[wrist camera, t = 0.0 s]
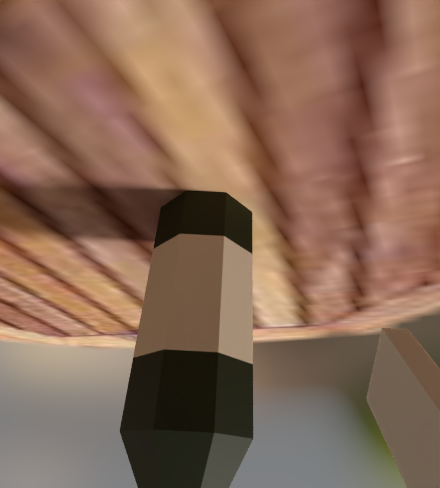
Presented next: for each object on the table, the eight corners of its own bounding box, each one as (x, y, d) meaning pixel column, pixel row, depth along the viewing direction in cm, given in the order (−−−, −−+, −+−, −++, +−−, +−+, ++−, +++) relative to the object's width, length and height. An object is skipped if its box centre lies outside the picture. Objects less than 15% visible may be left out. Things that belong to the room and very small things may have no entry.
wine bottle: (264, 238, 32) (281, 784, 15) (185, 252, 35) (126, 728, 18) (235, 178, 26) (210, 998, 9) (140, 201, 28) (-12, 863, 12)
